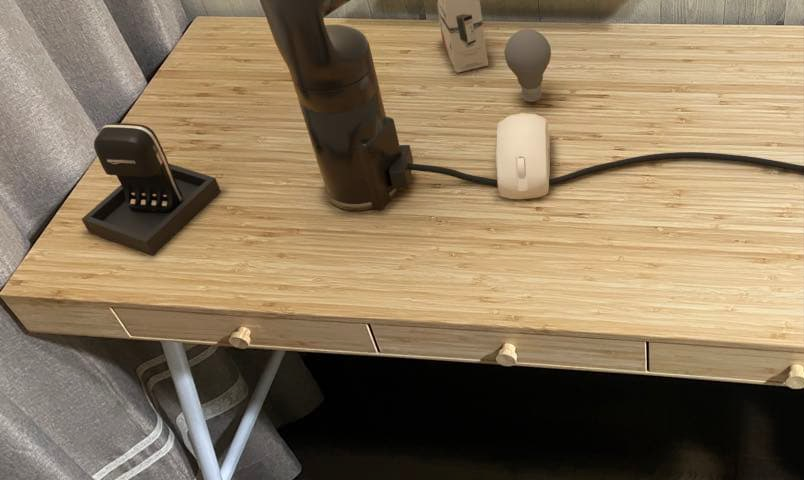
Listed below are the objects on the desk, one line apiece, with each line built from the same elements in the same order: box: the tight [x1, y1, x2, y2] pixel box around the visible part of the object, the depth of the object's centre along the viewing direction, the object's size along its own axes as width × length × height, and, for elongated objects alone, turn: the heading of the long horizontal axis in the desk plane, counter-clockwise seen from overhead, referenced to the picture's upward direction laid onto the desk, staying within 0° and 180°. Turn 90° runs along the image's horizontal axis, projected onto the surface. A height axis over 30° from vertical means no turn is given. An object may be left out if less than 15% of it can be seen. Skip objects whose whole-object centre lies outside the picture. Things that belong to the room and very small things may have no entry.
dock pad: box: [81, 163, 221, 256], centre depth 124 cm, size 11×13×2 cm
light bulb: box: [503, 28, 552, 102], centre depth 131 cm, size 6×6×10 cm
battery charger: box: [93, 122, 183, 212], centre depth 121 cm, size 7×4×11 cm, turn 80°
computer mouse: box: [495, 112, 551, 200], centre depth 123 cm, size 6×13×6 cm, turn 0°
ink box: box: [435, 0, 489, 73], centre depth 139 cm, size 9×5×12 cm, turn 17°
